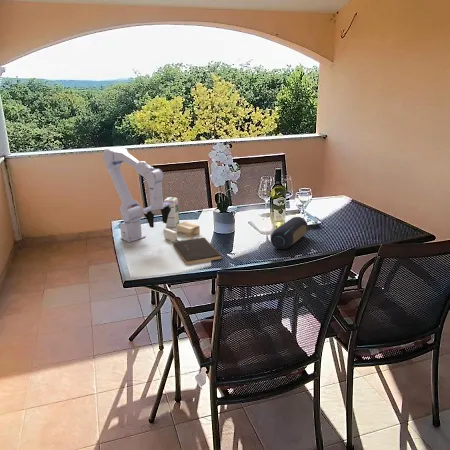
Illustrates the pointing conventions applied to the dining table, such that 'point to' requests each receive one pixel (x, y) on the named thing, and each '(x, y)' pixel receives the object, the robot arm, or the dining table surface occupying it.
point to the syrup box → (173, 212)
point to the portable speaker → (289, 233)
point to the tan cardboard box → (188, 230)
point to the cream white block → (170, 235)
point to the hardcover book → (196, 250)
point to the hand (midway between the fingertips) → (158, 224)
